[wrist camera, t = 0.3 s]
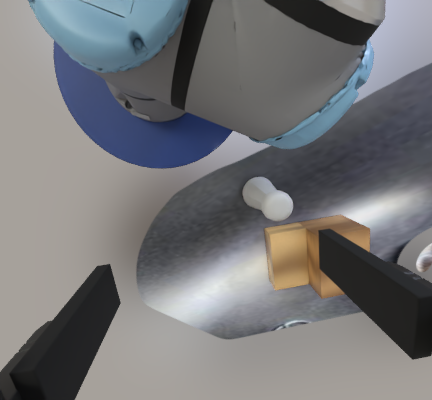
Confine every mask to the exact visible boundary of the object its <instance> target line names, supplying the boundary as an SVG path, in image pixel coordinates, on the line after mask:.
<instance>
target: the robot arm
mask: <svg viewBox="0 0 432 400" xmlns="http://www.w3.org/2000/svg"><path fill="white" fill-rule="evenodd" d="M28 1H29V4H30V7H31V8H32V9H33V11H34V13H35V15H36V18H37V19H38V21H39V23H40V24H41V25H42V27H43V28H44V29H45V31H46V32H47V33H48V34H49V35H50V36H51V37H52V38H53V39H54V40H55V41H56V42H57V43H58V44H59V45H60V46H61V47H62V48H63V50H64V51H65V52H66V53H67V54H68V55H69V56H70V57H71V58H72V59H73V60H75V61H77V62H78V63H79V64H80V65H82V66H84V67H86V68H88V69H90V70H92V71H93V72H95V73H96V74H97V75H99V76H100V77H101V78H103V79H104V80H105V81H106V83H107V86H108V88H109V90H110V91H111V93H112V94H113V96H114V97H115V99H116V100H117V101H118V102H119V104H120V105H121V106H122V107H123V108H125V109H126V110H127V111H128V112H130V113H131V114H132V115H134V116H137V117H139V118H141V119H144V120H147V121H151V122H168V121H172V120H175V119H177V118H180V117H181V116H183V115H184V114H186V113H187V112H188V113H191V114H193V115H196V116H198V117H201V118H203V119H206V120H208V121H211V122H213V123H216V124H218V125H221V126H223V127H226V128H228V129H231V130H233V131H236V132H238V133H241V134H243V135H246V136H248V137H249V138H250V139H251V140H252V141H255V142H257V143H259V142H260V143H266V144H269V145H272V146H275V147H278V148H281V149H295V148H299V147H302V146H305V145H307V144H309V143H311V142H312V141H314V140H316V139H317V138H319V137H320V136H321V135H323V134H324V133H325V132H327V131H328V130H329V129H330V128H331V127H332V126H333V125H334V124H335V123H336V122H337V121H338V120H339V119H340V118H341V117H342V116H343V115H344V114H345V113H346V111H347V110H348V109H349V108H350V106H351V105H352V104H353V102H354V101H355V99H356V98H357V97H358V92H357V89H358V88H359V87H361V86H362V85H363V84H365V83H366V81H367V79H368V77H369V74H370V72H371V69H372V65H373V59H374V52H373V48H372V46H371V43H370V40H369V38H370V37H371V36H372V34H373V33H374V32H375V30H376V29H377V28H378V27H379V25H380V24H381V23H382V22H383V20H384V18H385V0H28ZM318 232H319V269H320V270H321V271H322V272H323V273H324V274H325V275H326V276H327V277H328V278H329V279H331V280H332V281H333V282H334V283H335V284H336V285H337V286H338V287H339V288H340V289H341V290H342V291H343V292H344V293H345V294H346V295H347V296H348V297H349V298H350V299H351V300H352V301H353V302H354V303H355V304H356V305H357V306H358V307H359V308H360V309H361V310H362V311H363V312H364V313H365V314H367V316H368V317H369V318H371V319H372V320H373V321H374V322H375V323H376V324H377V325H378V326H379V327H380V328H381V329H382V330H383V331H384V332H385V333H386V334H387V335H388V336H389V337H390V338H391V339H392V340H393V341H394V342H395V343H396V344H397V345H398V346H399V347H400V348H401V349H402V350H403V351H404V352H405V353H406V354H408V356H409V357H411V358H412V359H418V358H422V357H428V356H431V354H432V283H430V282H429V281H427V280H425V279H422V278H421V277H420V276H418V275H416V274H415V273H412V272H411V271H409V270H408V269H406V268H404V267H403V266H400V265H398V264H395V263H392V262H389V261H388V262H385V261H383V260H382V259H380V258H378V257H377V256H375V255H373V254H372V253H370V252H368V251H367V250H365V249H363V248H362V247H360V246H358V245H357V244H355V243H353V242H352V241H350V240H348V239H347V238H345V237H343V236H342V235H340V234H338V233H337V232H335V231H333V230H332V229H330V228H329V229H323V230H318ZM119 305H120V299H119V296H118V292H117V288H116V284H115V281H114V277H113V274H112V269H111V266H110V264H107V265H102V266H97V267H96V268H95V270H94V271H93V272H92V273H91V274H90V275H89V277H88V278H87V279H86V280H85V282H84V283H83V284H82V285H81V287H80V288H79V289H78V290H77V292H76V293H75V294H74V295H73V296H72V298H71V299H70V300H69V301H68V302H67V304H66V305H65V306H64V307H63V308H62V310H61V311H60V312H59V313H58V315H57V316H56V317H55V318H54V320H53V321H48V322H47V323H45V324H44V325H43V326H41V327H40V328H39V329H38V330H36V331H35V332H34V334H33V335H32V336H31V337H30V338H29V339H28V340H27V343H26V344H24V345H23V346H22V347H21V349H20V350H19V352H18V353H16V354H15V355H14V357H13V358H12V359H11V360H10V361H9V362H8V364H7V365H6V366H5V367H4V368H3V369H2V371H1V372H0V400H75V398H76V396H77V394H78V392H79V389H80V387H81V385H82V383H83V381H84V379H85V377H86V375H87V373H88V370H89V368H90V366H91V364H92V362H93V360H94V358H95V356H96V353H97V352H98V349H99V347H100V345H101V343H102V341H103V339H104V337H105V335H106V333H107V330H108V328H109V326H110V324H111V322H112V320H113V318H114V316H115V314H116V311H117V309H118V307H119Z"/></svg>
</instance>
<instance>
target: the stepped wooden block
mask: <svg viewBox="0 0 432 400" xmlns="http://www.w3.org/2000/svg"><path fill="white" fill-rule="evenodd" d="M329 228H330V229H332V230H333V231H335V232H337V233H338V234H340V235H342V236H343V237H345V238H347V239H348V240H350V241H352V242H353V243H355V244H357V245H358V246H360V247H362V248H363V249H365V250H367V251H368V252H370V228H367V227H365V226H363V225H361V224H359V223H357V222H355V221H353V220H351V219H348V218H346V217H344V216H342V215H336V216H331V217H325V218H319V219H314V220H308V221H302V222H297V223H291V224H285V225H280V226H274V227H269V228H264V230H265V240H266V250H267V260H268V269H269V279H270V282H271V284H272V285H273V287H274V289H275V290H280V289H285V288H290V287H296V286H301V285H306V284H310V285H311V287H312V288H313V289H314V290H315V291H316V293H317V294H318V295H319V296H320V297H321V299H323V298H328V297H333V296H338V295H343V294H345V293H344V292H343V291H342V290H341V289H340V288H339V287H338V286H337V285H336V284H335V283H334V282H333V281H332V280H331V279H329V278H328V277H327V276H326V275H325V274H324V273H323V272H322V271H321V270H320V269H319V232H318V230H323V229H329Z"/></svg>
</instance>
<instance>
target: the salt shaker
mask: <svg viewBox="0 0 432 400" xmlns="http://www.w3.org/2000/svg"><path fill="white" fill-rule="evenodd" d="M242 193H243V198H244V201H245V202H246V203H247V205H248V206H251V207H253V208H256V209H260V210H262V212H263V213H264V215H265V216H266V217H267V218H268V219H271V220H273V221H282V220H284V219H286V218H288V216H289V215H290V214H291V213H292V209H293V202H292V199H291V198H290V197H289V195H288V194H286V193H284V192H282V191H280V190H276V188H275V187H274V186H273V185H272V183H271V182H270V181H269V180H268V179H266V178H264V177H254V178H252V179H250V180H248V182H247V183H246V184H245V185H244V188H243V192H242Z"/></svg>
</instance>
